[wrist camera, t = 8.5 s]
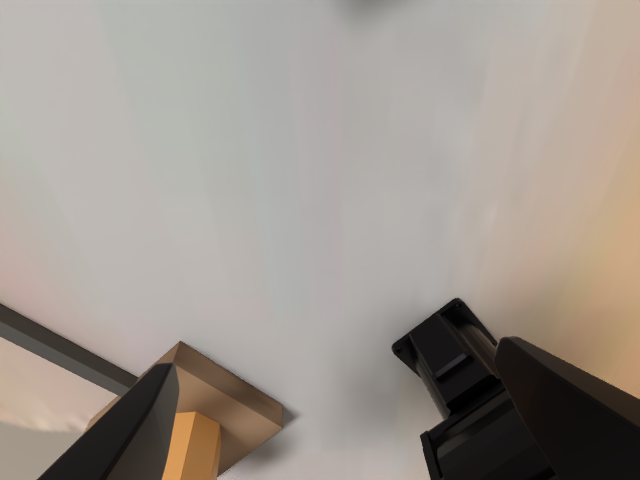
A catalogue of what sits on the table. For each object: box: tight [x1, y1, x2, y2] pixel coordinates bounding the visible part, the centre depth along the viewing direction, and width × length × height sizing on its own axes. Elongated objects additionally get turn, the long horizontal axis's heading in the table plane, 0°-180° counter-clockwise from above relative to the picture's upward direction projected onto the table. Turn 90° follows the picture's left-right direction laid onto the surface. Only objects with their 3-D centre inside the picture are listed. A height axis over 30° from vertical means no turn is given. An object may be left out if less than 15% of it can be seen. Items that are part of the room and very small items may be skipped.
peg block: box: [83, 341, 283, 477], centre depth 22 cm, size 10×10×6 cm
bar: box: [0, 304, 138, 397], centre depth 19 cm, size 16×1×1 cm, turn 41°
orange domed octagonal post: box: [162, 412, 222, 480], centre depth 21 cm, size 5×5×5 cm
